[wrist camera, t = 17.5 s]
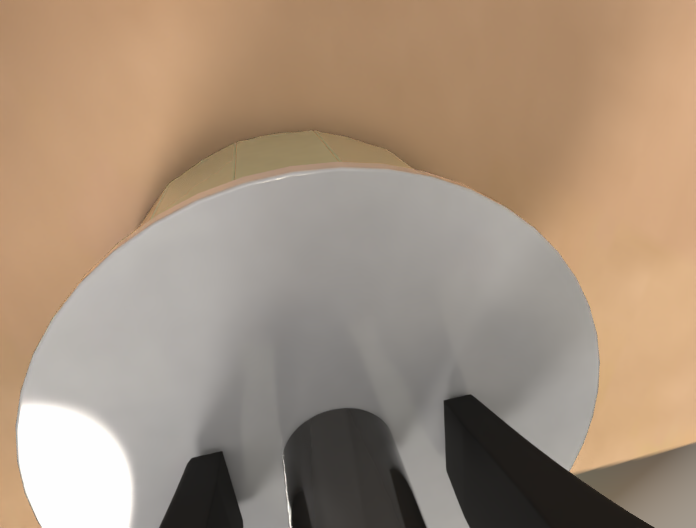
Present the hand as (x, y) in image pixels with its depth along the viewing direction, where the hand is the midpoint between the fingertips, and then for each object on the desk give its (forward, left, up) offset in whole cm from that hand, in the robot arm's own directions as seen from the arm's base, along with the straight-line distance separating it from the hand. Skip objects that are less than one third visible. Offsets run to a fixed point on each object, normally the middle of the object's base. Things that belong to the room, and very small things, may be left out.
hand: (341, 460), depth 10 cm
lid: (0, 0, -1) cm, 1 cm away
